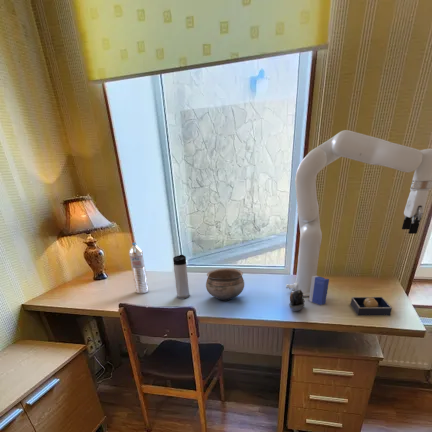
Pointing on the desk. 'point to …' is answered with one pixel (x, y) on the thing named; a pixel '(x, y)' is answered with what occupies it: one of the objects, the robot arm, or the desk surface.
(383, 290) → the desk surface
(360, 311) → the square open-top storage box
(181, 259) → the travel mug
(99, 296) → the desk surface
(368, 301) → the potato
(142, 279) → the water bottle
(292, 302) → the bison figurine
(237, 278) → the cooking pot
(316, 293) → the walkman
